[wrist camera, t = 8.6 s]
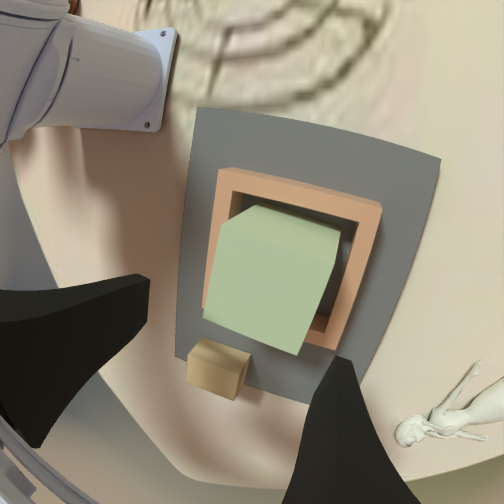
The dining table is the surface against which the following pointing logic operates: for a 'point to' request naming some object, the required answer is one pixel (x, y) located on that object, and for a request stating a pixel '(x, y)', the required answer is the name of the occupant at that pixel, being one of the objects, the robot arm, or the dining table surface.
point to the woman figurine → (456, 415)
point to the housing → (312, 205)
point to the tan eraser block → (217, 368)
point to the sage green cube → (270, 274)
